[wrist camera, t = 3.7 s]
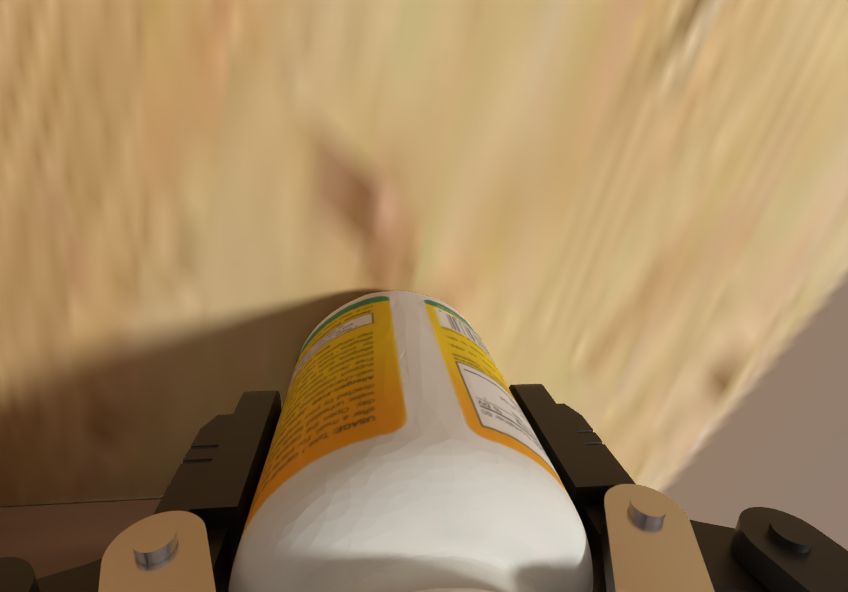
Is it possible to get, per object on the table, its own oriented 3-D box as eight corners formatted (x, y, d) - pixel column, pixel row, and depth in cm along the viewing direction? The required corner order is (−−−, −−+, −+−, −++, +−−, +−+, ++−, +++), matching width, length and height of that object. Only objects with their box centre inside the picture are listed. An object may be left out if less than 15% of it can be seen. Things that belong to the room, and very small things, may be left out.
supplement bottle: (499, 295, 13) (829, 673, 4) (466, 456, 14) (640, 991, 5) (300, 275, 12) (107, 705, 3) (288, 449, 14) (141, 1075, 4)
